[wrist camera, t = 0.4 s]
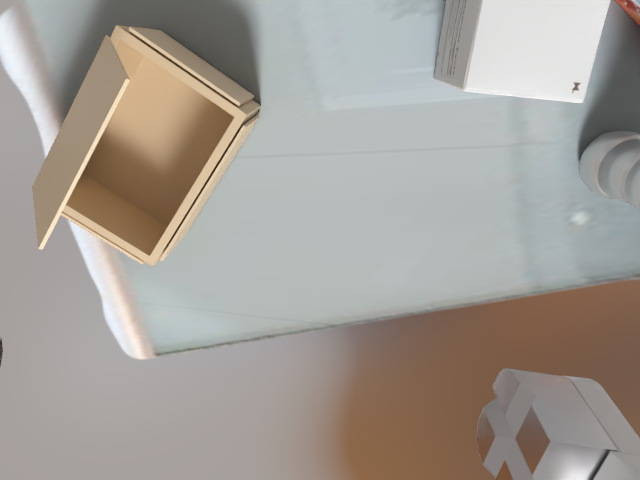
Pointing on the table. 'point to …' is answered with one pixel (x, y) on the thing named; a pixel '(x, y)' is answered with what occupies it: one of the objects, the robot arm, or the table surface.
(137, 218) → the carton
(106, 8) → the table surface
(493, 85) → the supplement box
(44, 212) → the flap
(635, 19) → the cracker box
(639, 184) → the plastic bottle
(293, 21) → the table surface
